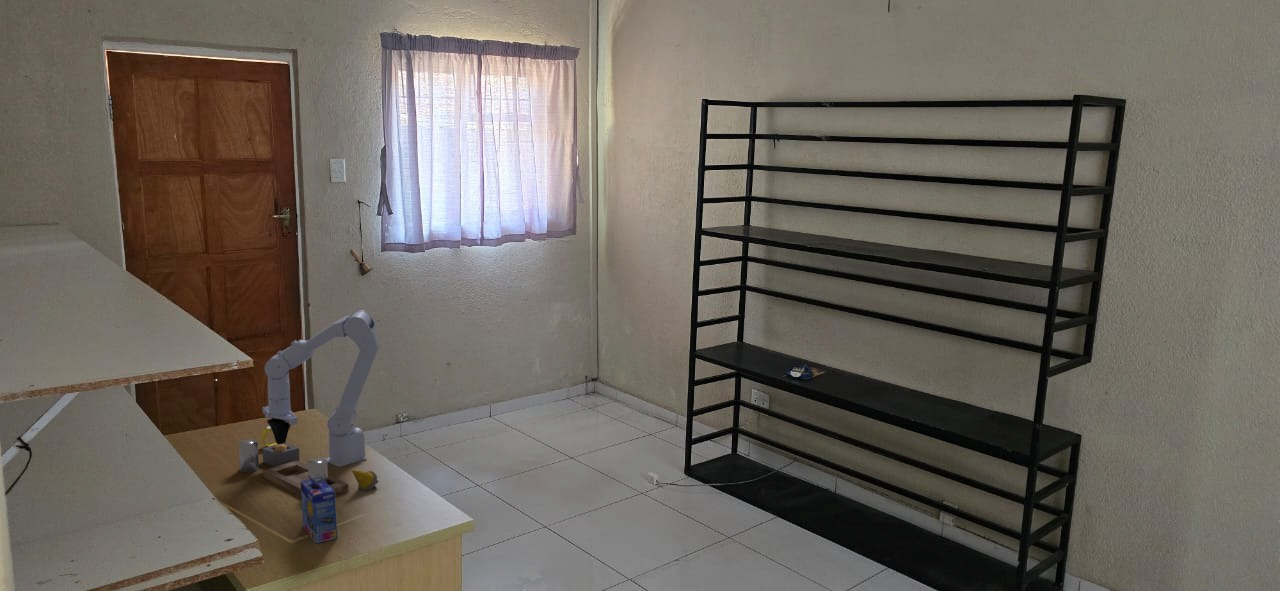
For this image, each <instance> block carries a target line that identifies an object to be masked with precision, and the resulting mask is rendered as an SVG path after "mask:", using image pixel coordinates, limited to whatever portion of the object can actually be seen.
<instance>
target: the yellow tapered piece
mask: <svg viewBox="0 0 1280 591" xmlns="http://www.w3.org/2000/svg"><path fill="white" fill-rule="evenodd" d="M351 472H352V474H353V476H354V478H355V481H356V482H357V486H358V488H359V489H360V490H362V491H371V489H373V488H374V487H375V486H376V485H377V484H378V483H379V480H378V475H377V474H376V473H375V472H374V471H372V470H369V471H362V470H356V469H351Z"/></svg>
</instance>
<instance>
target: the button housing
mask: <svg viewBox="0 0 1280 591" xmlns="http://www.w3.org/2000/svg"><path fill="white" fill-rule="evenodd" d="M283 444H285V445H287V449H286V450H283V451H279V452H278V451H275V446H276V445H279V444H276V445H273V446H269V447H267V446H266V447H262V462H263V463H265V464H268V465H269V466H271V467H272V468H273V467H276V466H280V465H283V464H287V463H290V462H293V461H299V462H300V448H299V447H297V446H295V445H293V444H291V443H289V442H285V443H283Z"/></svg>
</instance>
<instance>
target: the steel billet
mask: <svg viewBox="0 0 1280 591" xmlns="http://www.w3.org/2000/svg"><path fill="white" fill-rule="evenodd" d="M238 453H239V456H238V458H239V471H240V472H241V473H245V474H248V473H249V472H250V473H254V472H257V471H259V469H260V468H259V441H258V440H257V439H253V438H248V439H242V440H240V441H239V442H238ZM250 473H249V474H250Z"/></svg>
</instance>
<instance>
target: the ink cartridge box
mask: <svg viewBox="0 0 1280 591" xmlns="http://www.w3.org/2000/svg"><path fill="white" fill-rule="evenodd" d="M309 478H310V479H311V480H305V481H302V482H301V495H302V496H301V512H302V513H301V514H302V516H301V517H302V527H303V528H304V530H305V531H306V532H307V535H308V536H309V538H310V539H311V540H312V541H313V542H314V544H319V543H323V542H327V541H329V542H330V541H332V540H336V539H338V523H337V522H338V521H337V507H336V506H337V505H336V496H335V490H334V489H333V488H332V487H331V486H329V485H328V484H327V482H326V481H325V480H324V479H323V478H321V477H320V478H316V479H312V478H311V477H310V476H309Z"/></svg>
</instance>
